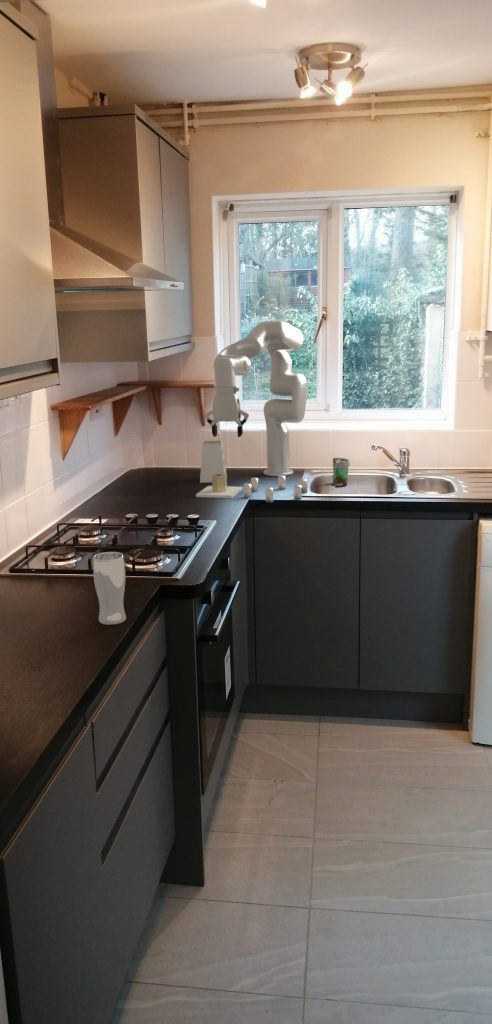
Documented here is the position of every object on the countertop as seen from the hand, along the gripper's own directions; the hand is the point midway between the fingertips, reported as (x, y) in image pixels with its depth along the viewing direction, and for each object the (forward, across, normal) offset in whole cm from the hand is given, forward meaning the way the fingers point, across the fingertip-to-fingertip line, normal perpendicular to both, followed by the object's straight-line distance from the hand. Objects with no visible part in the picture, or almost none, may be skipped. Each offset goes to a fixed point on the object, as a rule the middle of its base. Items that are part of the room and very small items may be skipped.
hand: (227, 436), depth 309 cm
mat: (+21, +3, +3) cm, 22 cm away
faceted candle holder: (+20, +3, +3) cm, 21 cm away
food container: (+22, -41, -18) cm, 50 cm away
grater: (+22, +14, -22) cm, 34 cm away
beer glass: (+18, -13, +136) cm, 138 cm away
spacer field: (+22, -19, +3) cm, 29 cm away
